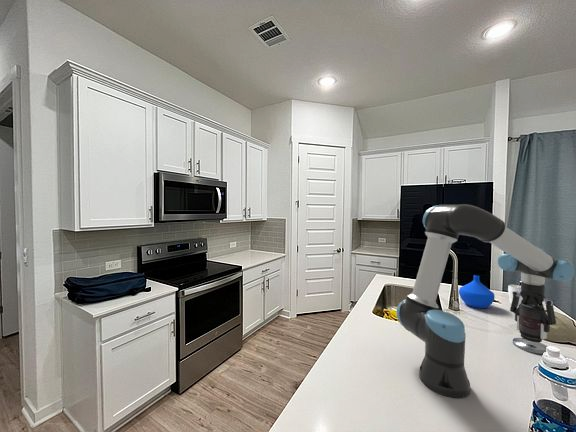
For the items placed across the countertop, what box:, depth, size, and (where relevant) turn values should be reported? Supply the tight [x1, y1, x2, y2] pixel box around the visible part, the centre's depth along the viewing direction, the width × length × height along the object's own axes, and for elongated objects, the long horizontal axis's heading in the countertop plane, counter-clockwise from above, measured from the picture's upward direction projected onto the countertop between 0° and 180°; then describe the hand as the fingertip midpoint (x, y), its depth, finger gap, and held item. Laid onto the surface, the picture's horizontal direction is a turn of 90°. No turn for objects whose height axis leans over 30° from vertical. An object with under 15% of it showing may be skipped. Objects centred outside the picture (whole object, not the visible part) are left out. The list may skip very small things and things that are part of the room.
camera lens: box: [518, 303, 546, 343], centre depth 110 cm, size 8×8×15 cm
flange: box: [512, 337, 548, 356], centre depth 110 cm, size 12×12×1 cm
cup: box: [507, 284, 523, 307], centre depth 161 cm, size 9×9×12 cm
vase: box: [458, 274, 496, 309], centre depth 159 cm, size 18×18×19 cm
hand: (531, 333), depth 110 cm, fingers closed on camera lens, 8 cm apart
